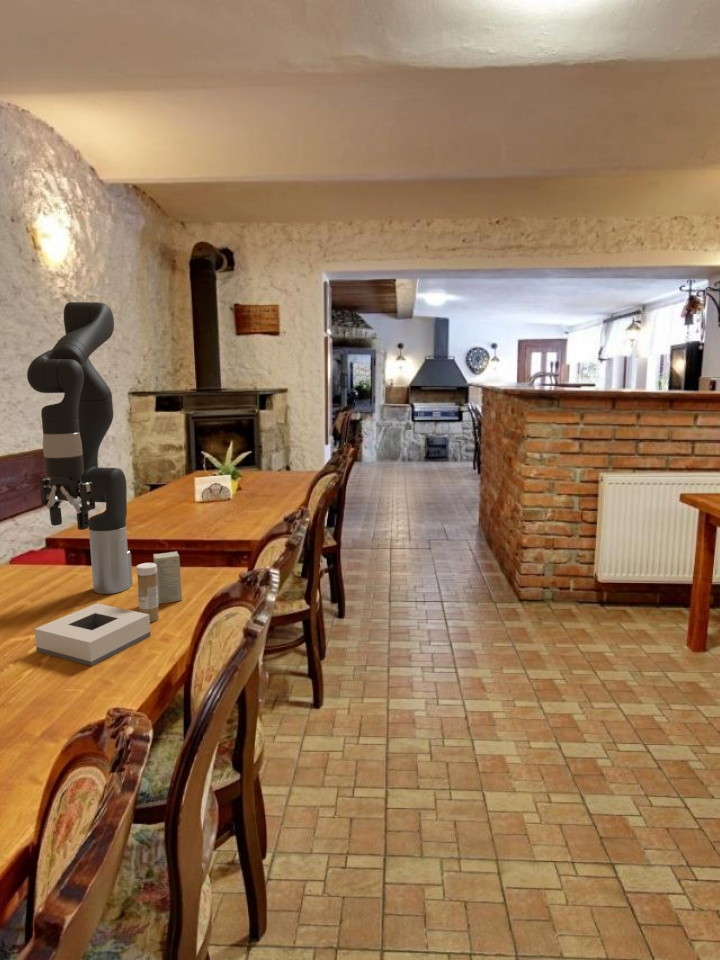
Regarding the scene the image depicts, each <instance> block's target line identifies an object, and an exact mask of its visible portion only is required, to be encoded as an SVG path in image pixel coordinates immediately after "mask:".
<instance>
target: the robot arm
mask: <svg viewBox="0 0 720 960" xmlns="http://www.w3.org/2000/svg"><path fill="white" fill-rule="evenodd" d="M63 325H64V333H65V334H64V335H63V336H62V337H61V338H60V339H58V340H57V342H56V343H55V344H54V346H53V347H52V349H50V350H47V351H46V352H44V353H41V354H40V355H39V356H37V357H35V358H34V359H33V360H32V361H31V363H30V364H29V366H28V368H27V372H26V373H27V375H26V378H27V381H28V384H29V386H30V387H31V388H32V389H33V390H34V391H36V392H38V393H42V394H64V396H63V398H62V400H61V401H60V402H57V403H52V404H48V405H44V406H43V407H42V409H41V413H40V414H41V415H40V416H41V423H42V424H41V425H42V434H43V435H42V452H43V461H44V469H45V470H44V471H45V476H46V477H45V478H40V480H39V484H40V486H39V487H40V503H41V505H42V506H45V507H46V508H47V510H49V520H50V524H51V525H52V526H54V527H56V526H60V525H62V524H63V520H62V519H63V517H62V508H61V504H62V502H63V501H66V502H68V503H69V505H70V506H73V508H74V509H75V511H76V512H77V513H76V522H77V530H80V531H83V530H87V529H88V536H89V545H90V546H89V548H90V561H91V574H92V587H93V592H94V593H96V594H99V595H100V594H101V595H102V594H103V595H111V594H117V593H121V592H125V591H127V590H128V589H129V588H130V587H131V586H133V573H132V572H133V571H132V570H133V569H132V568H133V567H132V553H131V551H130V550H129V549H128V535H127V515H128V513H127V512H128V507H127V505H128V503H127V492H128V491H127V489H128V487H127V479H126V476H125V472H124V470H122V469H120V468H118V467H99V462H98V461H99V450H100V446H101V444H102V442H103V441H104V440H103V439H104V438H105V437H106V434H107V432H108V431H109V429H110V427H111V425H112V422H113V421H114V405H113V403H114V402H113V394H112V390H111V388H110V387H109V385H108V384H107V382H106V380H105V379H104V378H103V377H102V375H101V374H100V373H99V372H98V370H97V369H96V368H95V366H94V364H92V362H91V360H90V356H91V355H92V353H94V352H95V351H96V350H98V349H99V348H100V347H101V346H102V345H103V344H104V343H105V342H107V341H108V340H109V339H110V338H111V337H112V335H113V334H114V329H115V319H114V314H113V310H112V309H111V307H110V306H109V305H108V304H106V303H104V302H97V301H95V302H94V301H92V302H90V301H86V302H85V301H81V302H80V301H71V302H67V303H65V305H64V308H63ZM47 496H48V498H47ZM96 503H105V510H104V511H103V512H100V513H97V514H94V515H93V516H90V517H89V512H90V511H91V510H95V509H96Z"/></svg>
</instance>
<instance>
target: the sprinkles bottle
mask: <svg viewBox="0 0 720 960" xmlns="http://www.w3.org/2000/svg"><path fill="white" fill-rule="evenodd" d="M135 567H136V568H135V569H136V571H135V573H136V576H137V587H138V588H137V595H138V607H139V609H138V610H139V611H138V612H140V613H145V614H149V618H150V623H152V622H155V621H156V622H157V620H159V619H160V615H159V604H158V588H157V575H156V574H157V565H156V564H155V563H154V562H144V563H140V564H137V565H136V566H135Z"/></svg>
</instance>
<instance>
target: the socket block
mask: <svg viewBox="0 0 720 960" xmlns="http://www.w3.org/2000/svg"><path fill="white" fill-rule="evenodd" d="M34 635H35V636H34V637H35V639H34V640H35V648H36V652H38V653H41V654H46V655H48V656H53V657H56V658H60V659H64V660H66V661H70V662H74V663H79V664H82V665H85V666H89V667H93V666H95V665H97V664H99V663H101V662H103V661H104V660H106V659H109V658H111V657H113V656H115V655H116V654H119V653H120V652H122V651H124V650H126V649H128V648H129V647H132V646H135V645H136V644H137V643H140V642H142V641H143V640H145V639H147V638H149V637H151V622H150V618H149V614H145V613H140V611H136V610H135V611H134V610H130V609H127V608H126V609H125V608H119V607H115V606H111V605H106V604H102V603H98V602H96V603H94V604H92V605H89V606H87V607H84V608H82V609H79V610H77V611H74V612H72V613H70V614H68V615H65V616H63V617H62V616H61V617H60V618H57V619H55V620H52V621H51V622H48V623H45V624H42V625H40V626H38V627H36V628H34Z"/></svg>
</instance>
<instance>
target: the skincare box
mask: <svg viewBox="0 0 720 960" xmlns="http://www.w3.org/2000/svg"><path fill="white" fill-rule="evenodd" d="M180 562H181V561H180V555H179V552H178V551H177V550H175V551H169V552H162V553H153V563H155V564H156V565H157V574H156V575H157V588H158V605H159V604H167V603H173V602H179V601H183V594H182V593H183V592H182V580H181V578H182V577H181V563H180Z"/></svg>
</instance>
